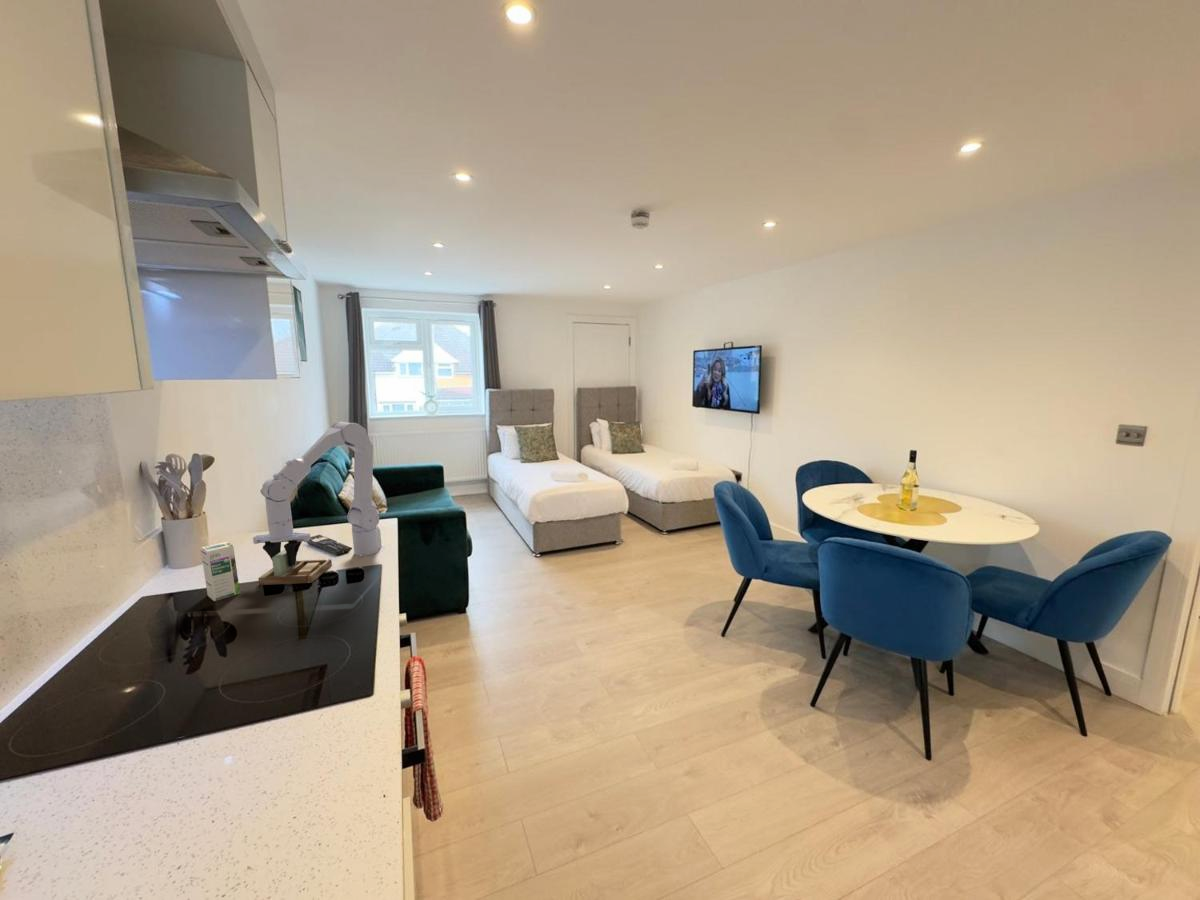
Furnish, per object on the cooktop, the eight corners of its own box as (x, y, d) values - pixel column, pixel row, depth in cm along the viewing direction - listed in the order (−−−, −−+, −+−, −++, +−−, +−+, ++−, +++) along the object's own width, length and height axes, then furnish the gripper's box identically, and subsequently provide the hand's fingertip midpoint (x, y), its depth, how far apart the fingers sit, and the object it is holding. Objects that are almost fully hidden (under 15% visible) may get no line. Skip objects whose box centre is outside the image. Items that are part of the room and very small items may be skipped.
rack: (283, 570, 143) (282, 561, 143) (332, 568, 145) (331, 559, 144) (259, 588, 132) (258, 578, 131) (312, 585, 133) (311, 575, 132)
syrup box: (214, 605, 122) (206, 551, 120) (207, 598, 126) (199, 546, 123) (240, 596, 127) (233, 545, 124) (233, 590, 130) (226, 540, 128)
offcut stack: (310, 569, 142) (309, 562, 141) (322, 569, 142) (322, 561, 142) (297, 579, 134) (296, 571, 134) (310, 579, 135) (309, 571, 134)
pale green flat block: (290, 569, 141) (287, 547, 140) (297, 569, 142) (294, 547, 141) (274, 581, 134) (271, 557, 133) (282, 580, 134) (279, 557, 133)
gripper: (243, 525, 130) (249, 572, 133) (299, 523, 132) (304, 570, 134) (259, 518, 137) (265, 562, 140) (312, 516, 139) (316, 560, 141)
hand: (285, 565), depth 137 cm, fingers open, 3 cm apart
